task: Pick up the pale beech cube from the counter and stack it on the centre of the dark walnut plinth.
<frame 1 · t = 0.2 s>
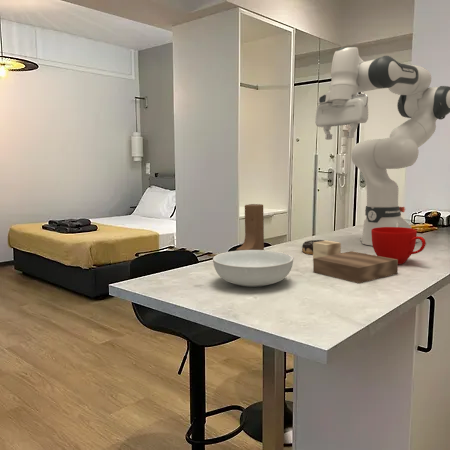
hand: (339, 138, 151), 39 cm above the counter, tool pointing down, fingers open, 8 cm apart
wooden block: (250, 261, 145), on the counter
serving bowl: (253, 283, 118), on the counter
donut: (319, 253, 157), on the counter
beech cube: (326, 261, 142), on the counter
plinth: (354, 272, 125), on the counter
ceramic cup: (398, 263, 136), on the counter
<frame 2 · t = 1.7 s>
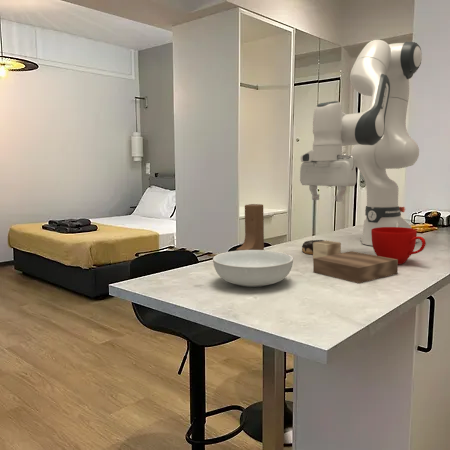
hand: (326, 200, 139), 19 cm above the counter, tool pointing down, fingers open, 8 cm apart
nothing on the counter moved.
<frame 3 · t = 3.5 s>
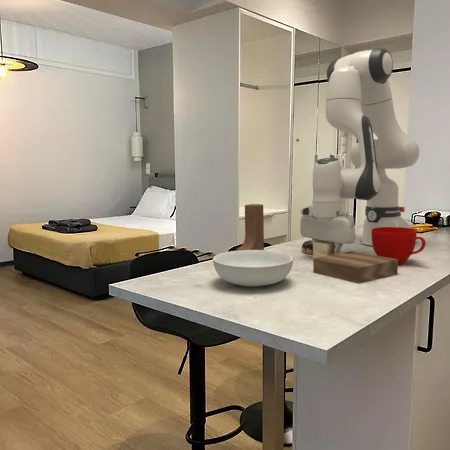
hand: (326, 254, 141), 2 cm above the counter, tool pointing down, fingers closed on beech cube, 6 cm apart
beech cube: (326, 261, 142), on the counter, touching gripper
everything else where it was.
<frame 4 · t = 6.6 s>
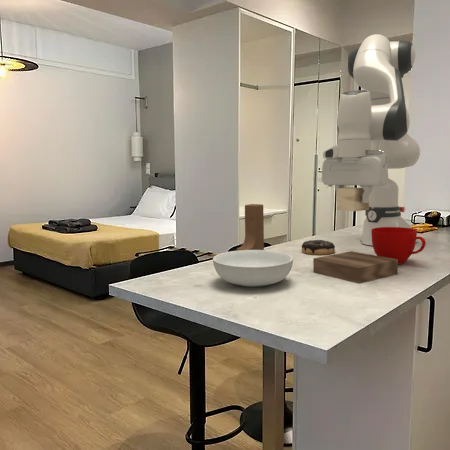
hand: (352, 202, 123), 20 cm above the counter, tool pointing down, fingers closed on beech cube, 6 cm apart
beech cube: (352, 209, 124), point 18 cm above the counter, touching gripper
everything else where it was.
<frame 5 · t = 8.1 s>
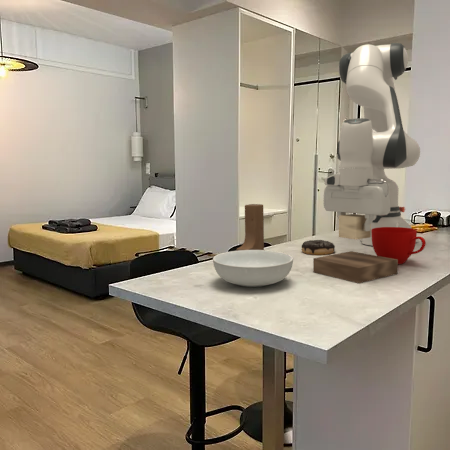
hand: (354, 229, 124), 12 cm above the counter, tool pointing down, fingers closed on beech cube, 6 cm apart
beech cube: (354, 237, 124), point 10 cm above the counter, touching gripper
everything else where it was.
when the fingers open (7 cm above the counter, at t = 9.6 s): beech cube stays where it is, resting on plinth.
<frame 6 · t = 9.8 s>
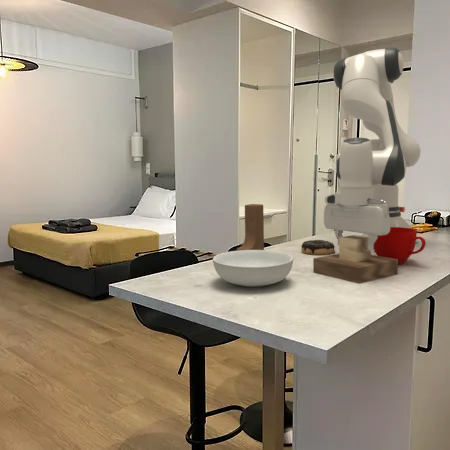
hand: (355, 247, 124), 7 cm above the counter, tool pointing down, fingers open, 8 cm apart
beech cube: (354, 258, 125), point 4 cm above the counter, touching plinth
everything else where it was.
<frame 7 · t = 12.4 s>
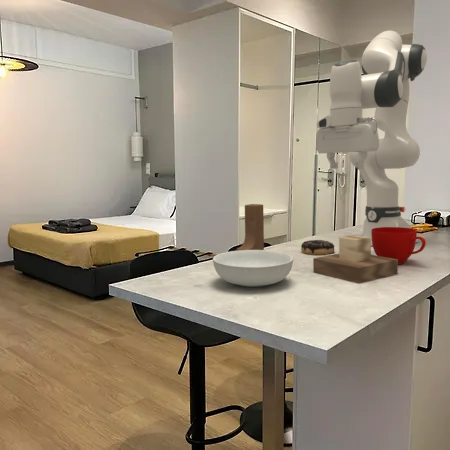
hand: (346, 168, 130), 29 cm above the counter, tool pointing down, fingers open, 8 cm apart
nothing on the counter moved.
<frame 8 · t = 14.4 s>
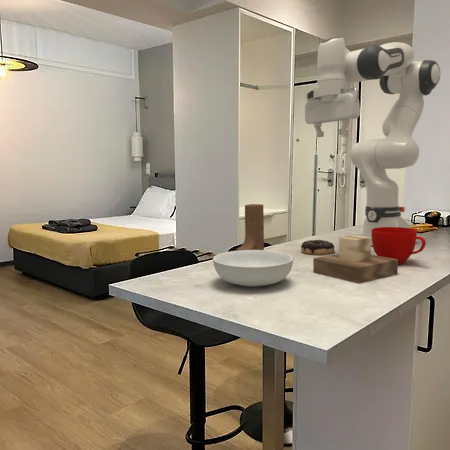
hand: (331, 136, 143), 39 cm above the counter, tool pointing down, fingers open, 8 cm apart
nothing on the counter moved.
at the end: beech cube inside the target area on the plinth (0.0 cm from its centre), point 4.0 cm above the plinth's base; beech cube tilted 0°; the gripper is holding nothing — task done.
